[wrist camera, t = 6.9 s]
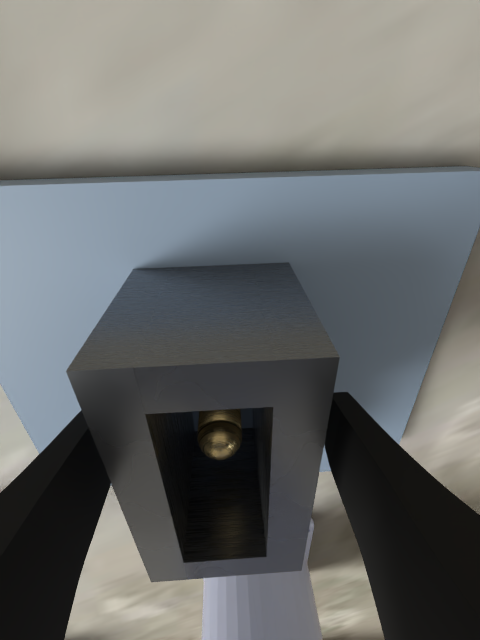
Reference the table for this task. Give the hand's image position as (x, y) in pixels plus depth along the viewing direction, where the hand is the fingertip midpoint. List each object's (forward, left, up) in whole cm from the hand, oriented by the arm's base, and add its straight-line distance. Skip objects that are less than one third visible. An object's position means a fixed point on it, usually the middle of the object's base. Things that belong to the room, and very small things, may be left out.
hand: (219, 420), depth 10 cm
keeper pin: (0, 0, -2) cm, 2 cm away
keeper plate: (0, 0, -4) cm, 4 cm away
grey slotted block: (0, 0, -2) cm, 2 cm away
